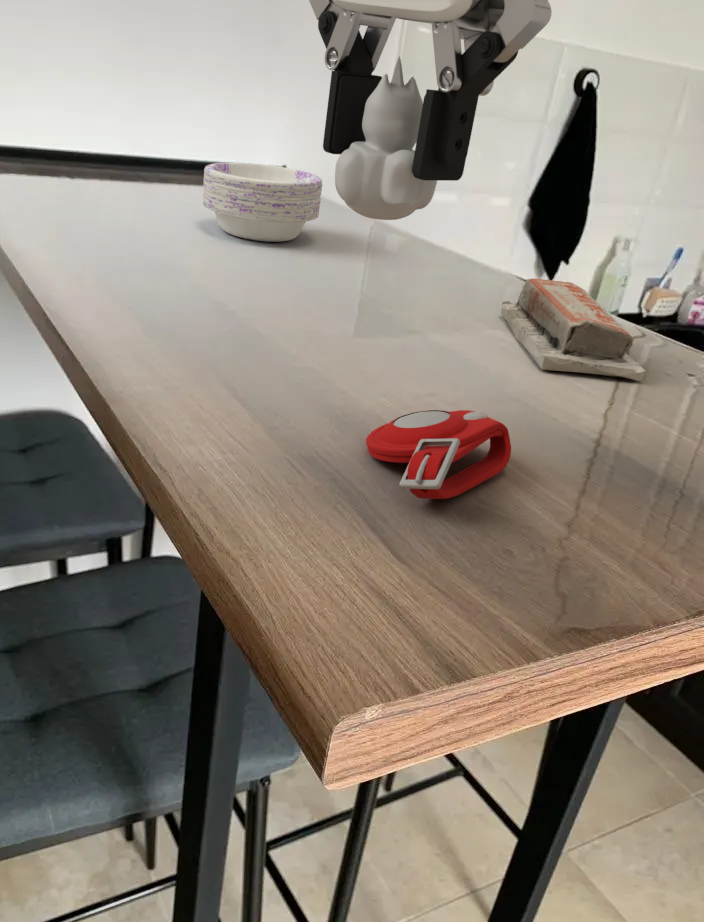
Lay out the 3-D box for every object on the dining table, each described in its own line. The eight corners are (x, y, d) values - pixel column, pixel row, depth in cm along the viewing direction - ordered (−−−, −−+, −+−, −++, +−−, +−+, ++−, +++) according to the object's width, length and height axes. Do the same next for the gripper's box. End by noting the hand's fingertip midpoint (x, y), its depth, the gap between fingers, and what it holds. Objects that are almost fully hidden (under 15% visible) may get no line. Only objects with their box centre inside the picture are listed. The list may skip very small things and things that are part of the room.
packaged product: (507, 270, 92) (596, 281, 93) (496, 314, 95) (583, 325, 96) (553, 320, 77) (659, 334, 78) (539, 372, 79) (643, 384, 80)
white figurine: (404, 211, 51) (430, 58, 47) (449, 238, 45) (483, 69, 41) (316, 204, 49) (335, 45, 45) (352, 231, 44) (377, 53, 40)
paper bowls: (192, 216, 118) (195, 155, 114) (298, 225, 122) (305, 166, 119) (211, 244, 105) (216, 176, 101) (329, 252, 110) (338, 187, 106)
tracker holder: (341, 418, 60) (469, 386, 63) (351, 478, 62) (476, 444, 64) (408, 460, 49) (561, 418, 52) (418, 530, 51) (566, 487, 53)
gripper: (686, -277, 34) (564, 201, 43) (384, -235, 45) (336, 139, 53) (575, -349, 29) (464, 203, 38) (268, -283, 40) (237, 135, 49)
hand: (390, 162), depth 46 cm, fingers closed on white figurine, 6 cm apart
